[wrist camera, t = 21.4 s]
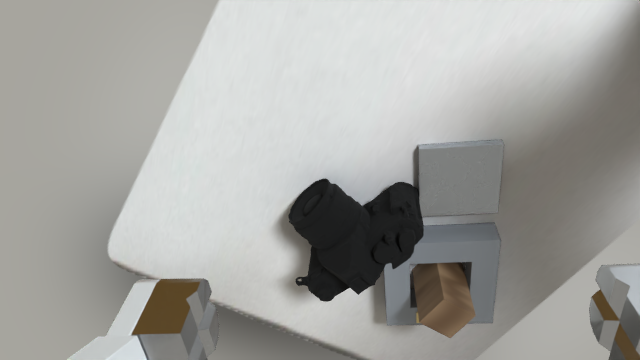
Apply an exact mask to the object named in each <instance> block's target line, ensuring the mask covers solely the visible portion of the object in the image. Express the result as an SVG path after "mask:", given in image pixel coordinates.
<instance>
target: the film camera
mask: <svg viewBox="0 0 640 360" xmlns="http://www.w3.org/2000/svg"><path fill="white" fill-rule="evenodd" d="M289 219H290V221H289V222H290V223H291V224H292V225H293V226H294V228H295V230H296V231H297V232H298V233H299V234H300V235H301V236H302V237H304V238H305V239H307V240H308V242H309V244H311V245H312V247H311V257H310V264H309V271H308V276H306V277H298V278H297V279H296V284H297V285H298V286H300V285H306V286H308V289H309V291H310V292H311V293H313V294H314V295H315V296H316V297H318V298H319V299H320V300H321V301H331V300H332V299H333V298H334V297H335V296H336V295H338V294H340V293H341V292H343V291H345V290H346V289H348V288H351V289H352V290H353V291H355V292H356V293H357V294H358V295H359V294H360V293H361V292H362V291H364V290H365V289H367V288H368V287H370V286H372V285H375V282H376V280H377V279H378V278H379V277H380V274H381V272H382V271H383V270H384V268H385V265H386V264H389V263H392V268H393V269H395V268H397V267H398V266H400V265H401V264H403V263H404V262H406V261H407V260H408V259H409V258H411V256H412V254H413V253H414V247H415V245H416V244H417V243H418V242H419V241H420V240H421V239H422V237H423V236H424V226H423V221H422V214H421V209H420V203H419V198H418V191H417V188H414V187H413V186H412V185H411V184H408V183H404V182H398V183H395V184H394V185H392V186H390V187H389V188H388V189H387V190H385V191H384V192H383V193H381V194H380V195H378V196H377V197H376V198H374V199H373V200H372V201H371V202H369V203H367V204H366V205H364V206H363V207H362V206H361V205H360V204H359V203H358V202H355V200H354V199H353V198H352V197H350V196H347V195H346V194H345V192H344V191H343V190H342V189H341V188H340V187H339V186H337V185H336V184H331V183H330V182H329V180H327V179H321V180H319V181H316V182H315V183H313V184H312V185H311V186H309V187H308V188H307V189H306V190H305V191H304V192H303V193H302V194H301V195H300V196H299V197H298V199H297V200H296V201H295V203H294V205H293V206H292V208H291V211H290V214H289ZM300 278H302V281H298V279H300Z"/></svg>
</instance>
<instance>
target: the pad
mask: <svg viewBox="0 0 640 360" xmlns="http://www.w3.org/2000/svg"><path fill="white" fill-rule="evenodd" d="M503 152H504V143H503V141H502V140H487V141H471V142H455V143H438V144H422V145H418V185H419V203H420V209H421V214H422V216H441V215H463V214H485V213H498V206H499V195H500V184H501V174H502V163H503Z"/></svg>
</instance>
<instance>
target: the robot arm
mask: <svg viewBox="0 0 640 360" xmlns="http://www.w3.org/2000/svg"><path fill="white" fill-rule="evenodd" d="M596 282H597V284H598V285H599V287H600V290H599V291H598V292H596V293H595V294H594V295H593V296H592V297H591V303H590V308H589V311H590V322H591V326H592V329H593V332H594V335H595V337H596V339H597V341H598V342H599V344H601V345H602V346H604V347H605V348H606V349H608V350H609V351H611V352H610V357H609V360H640V264H619V265H618V264H617V265H602V266H601V267H600V268H599V270H598V272H597V276H596ZM211 292H212V291H211V288H210V285H209V282H208V280H206V279H161V280H139V281H137V282H136V283H135V284H134V285H133V287H132V289H131V290H130V292H129V294H128V296H127V298H126V300H125V302H124V303H123V305H122V307H121V309H120V310H119V312H118V314H117V316H116V318H115V319H114V322H113V323H112V325H111V327H110V329H109V331H108V332H107V334H106V336H99V337H97V338H96V339H95V340H93V341H92V342H91V343H89V344H88V345H86V346H85V347H83V348H82V349H81V350H79V351H78V352H77V353H75V354H74V355H72V356H71V357H70V358H68V359H67V360H207V357H208V356H209V355H210V354H211V353H212V352H213V351H214V350H215V348H216V345H217V341H218V334H219V317H218V312H217V309H216V306H214V305H213V304H212V303H211V302H209V298H210V295H211Z"/></svg>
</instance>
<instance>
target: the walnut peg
mask: <svg viewBox="0 0 640 360" xmlns="http://www.w3.org/2000/svg"><path fill="white" fill-rule="evenodd" d="M412 271H413V279H414V287H415V294H416V302H417V309H418V317H419V322H420V323H421V324H423V325H425V326H427V327H429V328H431V329H433V330H435V331H437V332H439V333H441V334H443V335H445V336H447V337H449V338H451V337H452V336H453V335H454V334H456V333H457V332H458V331H459V330H460V329H461V328H462V327H464V326H465V325H466V324H467V323H468V322H469V321H470V320H472V319H473V318H474V317H475V316H476V314H475V310H474V307H473V303H472V299H471V295H470V291H469V287H468V284H467V280H466V276H465V272H464V268H463V264H462V263H461V262H452V263H424V264H417V265H416V266H415V267H414V269H413V270H412Z"/></svg>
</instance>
